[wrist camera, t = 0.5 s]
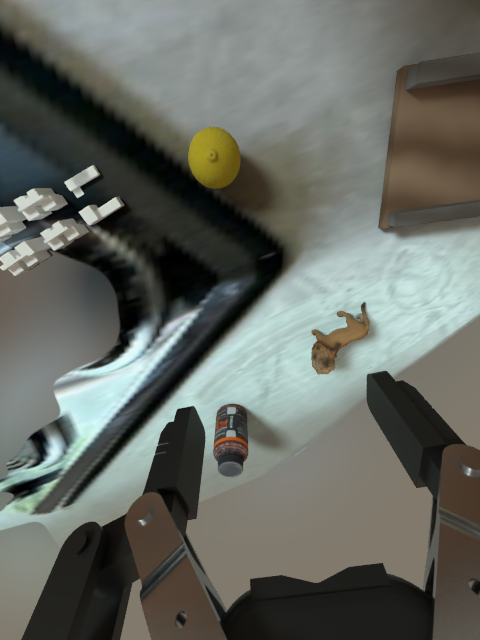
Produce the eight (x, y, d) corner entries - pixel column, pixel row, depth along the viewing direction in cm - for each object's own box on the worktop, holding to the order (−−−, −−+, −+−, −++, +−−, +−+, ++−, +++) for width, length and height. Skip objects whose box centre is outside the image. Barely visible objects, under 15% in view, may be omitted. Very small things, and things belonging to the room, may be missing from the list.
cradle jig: (397, 70, 27) (416, 56, 24) (563, 45, 26) (602, 28, 24) (378, 227, 34) (391, 230, 32) (507, 210, 34) (533, 212, 31)
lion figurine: (313, 356, 44) (327, 384, 38) (296, 342, 43) (308, 369, 36) (371, 308, 40) (397, 331, 34) (354, 292, 39) (378, 312, 32)
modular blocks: (31, 269, 37) (10, 277, 33) (-10, 225, 34) (-38, 229, 30) (141, 199, 33) (130, 200, 29) (105, 142, 30) (88, 137, 27)
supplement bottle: (224, 398, 48) (221, 453, 38) (251, 408, 50) (256, 463, 39) (211, 418, 51) (206, 475, 41) (238, 427, 52) (239, 484, 42)
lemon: (244, 142, 30) (247, 127, 23) (234, 193, 32) (234, 194, 25) (197, 129, 29) (185, 110, 22) (191, 182, 32) (178, 180, 25)
